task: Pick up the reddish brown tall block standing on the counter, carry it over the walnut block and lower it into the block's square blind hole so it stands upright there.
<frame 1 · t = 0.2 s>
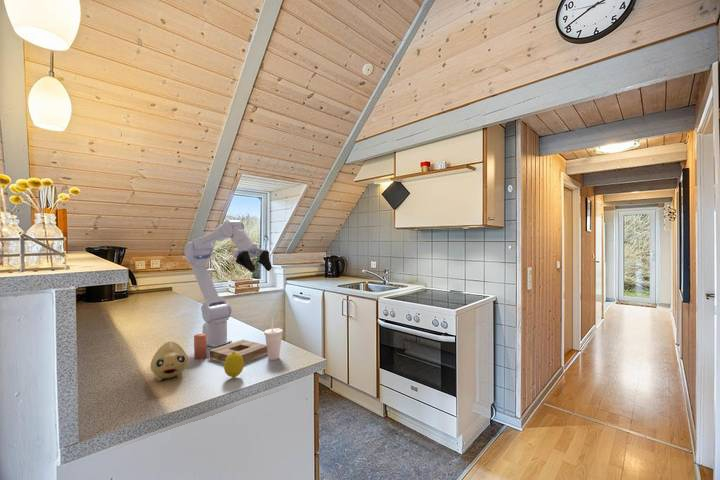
hand: (261, 269, 116), 31 cm above the counter, tool tilted 45°, fingers open, 7 cm apart
lemon: (234, 378, 98), on the counter
reddish brown tall block: (200, 357, 116), on the counter
smoothie: (273, 358, 115), on the counter
socket block: (239, 356, 117), on the counter
cream rounded figure: (169, 378, 99), on the counter
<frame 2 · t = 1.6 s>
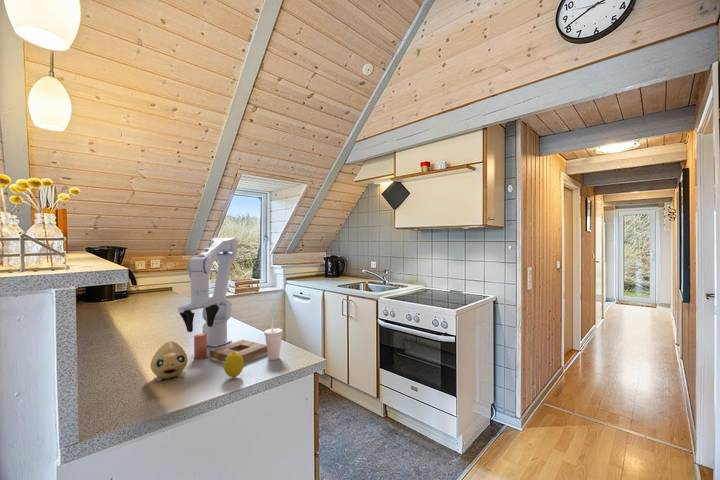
hand: (200, 328, 116), 10 cm above the counter, tool pointing down, fingers open, 7 cm apart
nothing on the counter moved.
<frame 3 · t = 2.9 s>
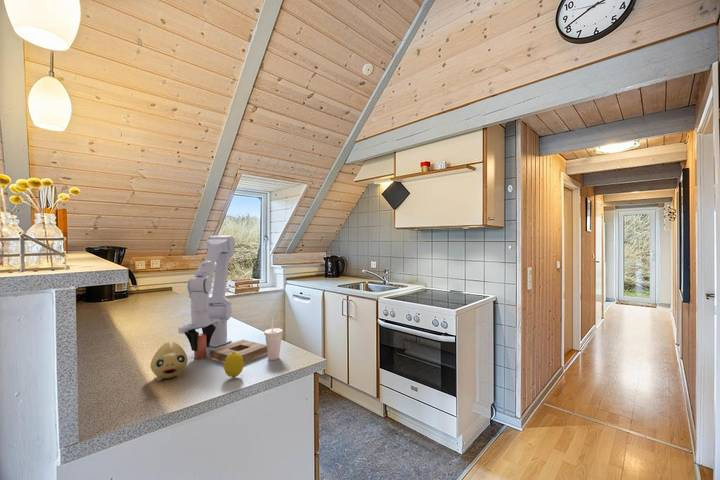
hand: (200, 348, 116), 3 cm above the counter, tool pointing down, fingers closed on reddish brown tall block, 4 cm apart
reddish brown tall block: (200, 357, 116), on the counter, touching gripper
everything else where it was.
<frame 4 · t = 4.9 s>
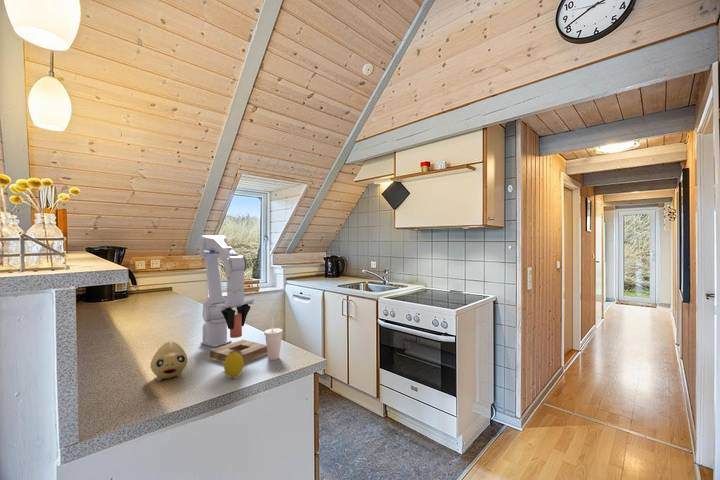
hand: (236, 327, 117), 10 cm above the counter, tool pointing down, fingers closed on reddish brown tall block, 4 cm apart
reddish brown tall block: (236, 336, 117), point 7 cm above the counter, touching gripper
everything else where it was.
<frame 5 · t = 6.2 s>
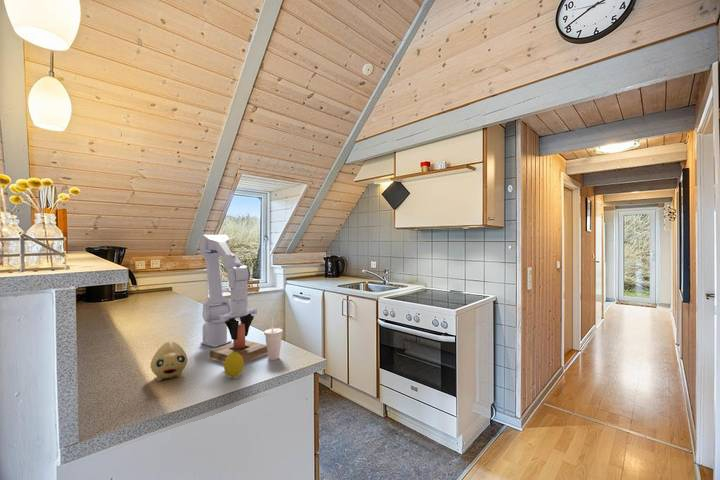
hand: (239, 337, 117), 7 cm above the counter, tool pointing down, fingers closed on reddish brown tall block, 4 cm apart
reddish brown tall block: (239, 346, 117), point 4 cm above the counter, touching gripper
everything else where it was.
when the fingers open (5 cm above the counter, at t = 7.1 s): reddish brown tall block stays where it is, resting on socket block.
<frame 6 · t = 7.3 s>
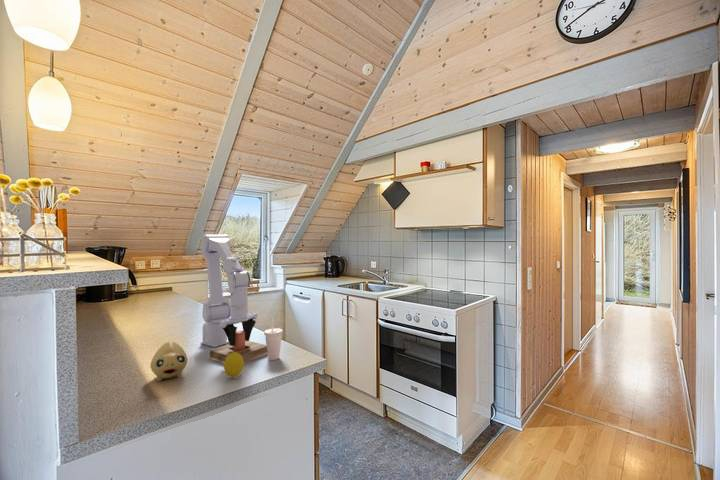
hand: (239, 342, 117), 5 cm above the counter, tool pointing down, fingers open, 6 cm apart
reddish brown tall block: (239, 354, 117), point 1 cm above the counter, touching socket block
everything else where it was.
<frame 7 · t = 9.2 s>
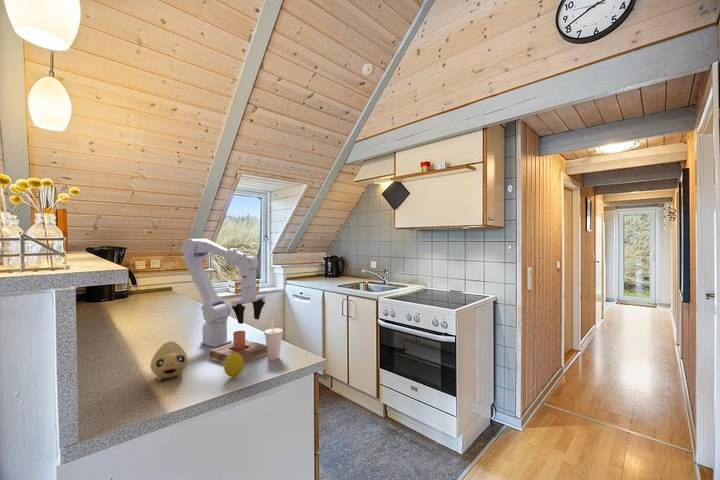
hand: (248, 321, 128), 10 cm above the counter, tool pointing down, fingers open, 7 cm apart
nothing on the counter moved.
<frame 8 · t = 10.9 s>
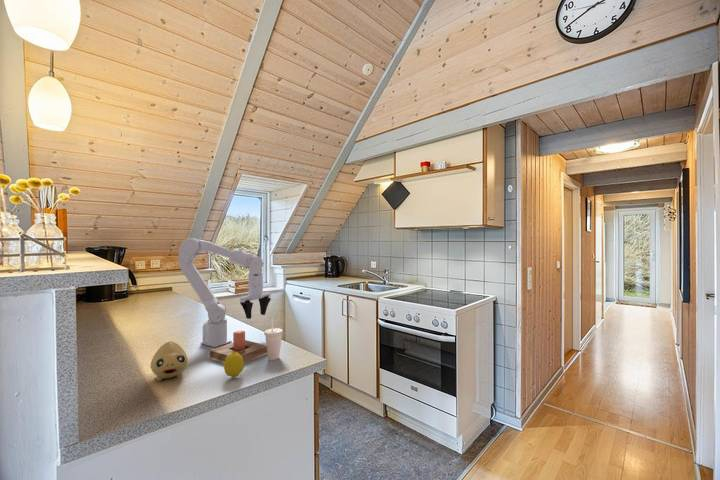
hand: (256, 316, 137), 9 cm above the counter, tool pointing down, fingers open, 7 cm apart
nothing on the counter moved.
at the end: reddish brown tall block 0.1 cm off-centre on the socket block, point 0.6 cm above the socket block's base; reddish brown tall block tilted 0°; the gripper is holding nothing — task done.
